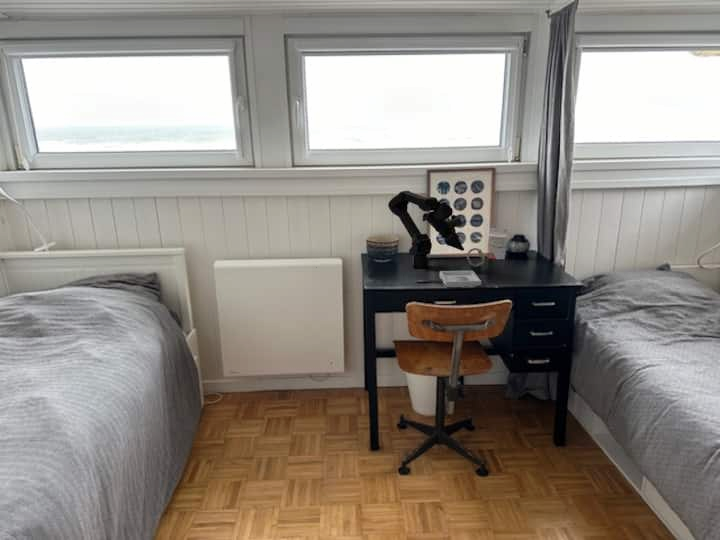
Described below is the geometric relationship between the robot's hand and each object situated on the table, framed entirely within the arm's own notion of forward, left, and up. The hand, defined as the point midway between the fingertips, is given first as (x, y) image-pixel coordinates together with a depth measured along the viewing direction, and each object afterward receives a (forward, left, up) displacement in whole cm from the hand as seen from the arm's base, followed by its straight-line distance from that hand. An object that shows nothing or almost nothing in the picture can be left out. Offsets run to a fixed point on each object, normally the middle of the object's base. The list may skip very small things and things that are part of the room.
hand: (462, 247), depth 219 cm
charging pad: (-9, -13, -12) cm, 20 cm away
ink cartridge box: (+22, +22, -12) cm, 33 cm away
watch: (+6, 0, -12) cm, 13 cm away
